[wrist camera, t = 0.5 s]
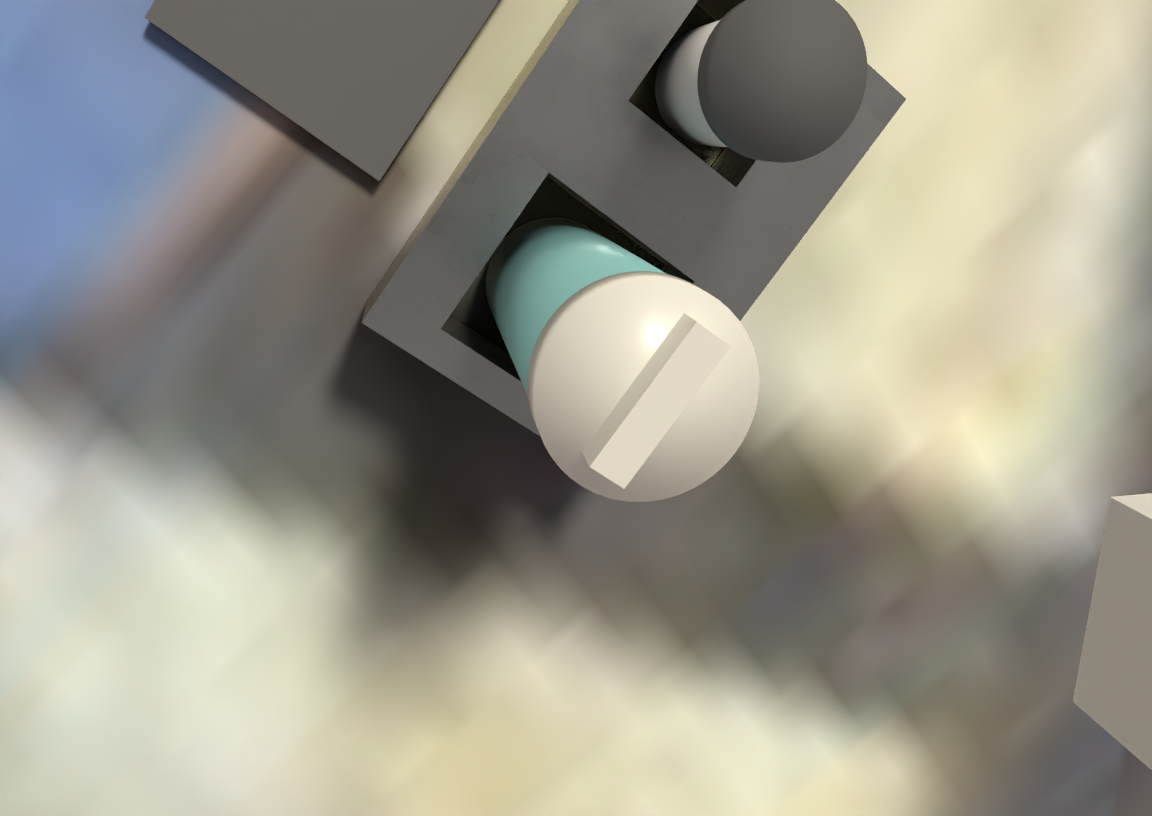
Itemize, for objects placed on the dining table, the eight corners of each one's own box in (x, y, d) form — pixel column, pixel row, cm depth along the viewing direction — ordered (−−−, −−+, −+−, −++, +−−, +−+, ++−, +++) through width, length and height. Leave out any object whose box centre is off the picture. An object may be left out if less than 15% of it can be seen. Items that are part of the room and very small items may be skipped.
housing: (596, 449, 38) (617, 485, 34) (366, 300, 35) (361, 322, 31) (853, 101, 36) (906, 99, 32) (633, -95, 32) (663, -125, 28)
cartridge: (455, 303, 35) (491, 441, 20) (536, 186, 34) (637, 236, 19) (567, 378, 37) (679, 558, 22) (647, 268, 36) (821, 374, 21)
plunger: (620, 100, 32) (677, 95, 25) (700, -14, 31) (780, -51, 24) (719, 180, 33) (798, 195, 27) (797, 72, 33) (899, 59, 26)
